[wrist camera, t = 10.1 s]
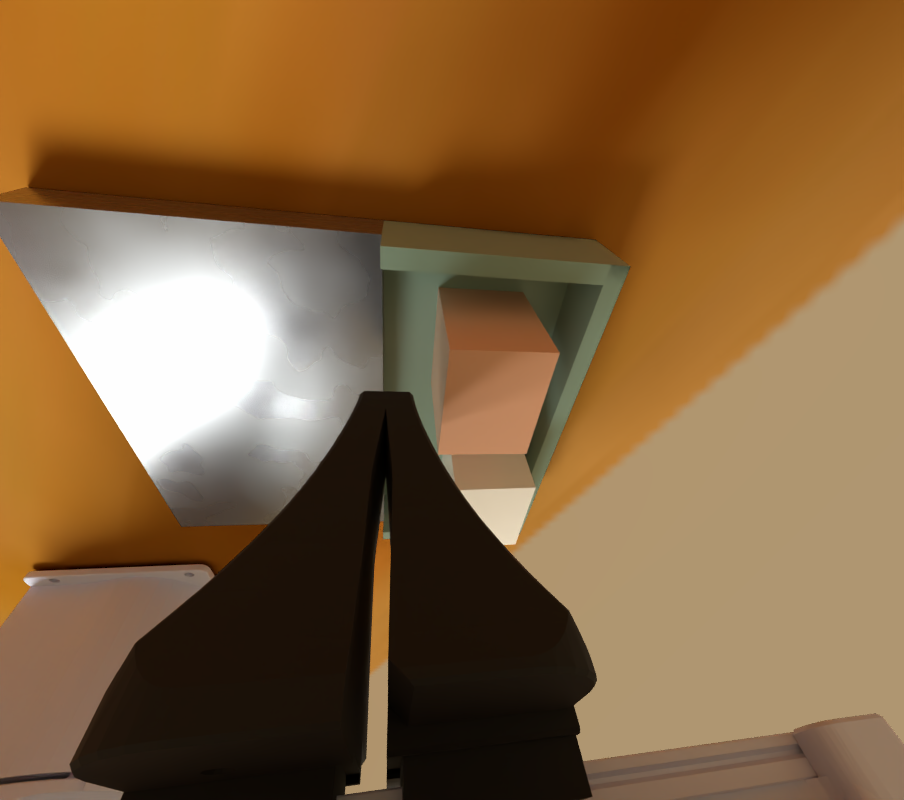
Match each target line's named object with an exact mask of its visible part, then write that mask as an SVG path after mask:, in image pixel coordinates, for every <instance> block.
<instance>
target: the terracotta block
mask: <svg viewBox="0 0 904 800" xmlns="http://www.w3.org/2000/svg"><path fill="white" fill-rule="evenodd" d="M559 354H560V352H559V351H558V349H557V347H556V346H555V344H554V343H553V341H552V339H551V338H550V336H549V334H548V333H547V331H546V329H545V328H544V326H543V324H542V323H541V321H540V319H539V318H538V316H537V314H536V313H535V311H534V310H533V308H532V306H531V305H530V303H529V301H528V300H527V298H526V296H525V295H524V293H523V292H513V291H495V290H477V289H459V288H441V287H438V298H437V311H436V323H435V336H434V349H433V361H432V374H431V388H432V398H433V408H434V418H435V429H436V439H437V449H438V455H458V454H527V451H528V448H529V444H530V441H531V438H532V435H533V432H534V429H535V426H536V423H537V420H538V417H539V414H540V411H541V408H542V405H543V402H544V399H545V396H546V393H547V390H548V387H549V384H550V381H551V378H552V375H553V372H554V369H555V366H556V363H557V360H558V357H559Z"/></svg>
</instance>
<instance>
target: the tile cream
mask: <svg viewBox="0 0 904 800" xmlns="http://www.w3.org/2000/svg"><path fill="white" fill-rule="evenodd" d="M442 463H443V465H444V466H445V468H446V470H447V471H448V473H449V474H450V476H451V478H452V479H453V481H454V482H455V484H456V485H457V487H458V488H459V490H460V491H461V493H462V494H463V495H464V497H465V498H466V500H467V501H468V502H469V504H470V505H471V506H472V508H473V509H474V510H475V512H476V513H477V514H478V516H479V517H480V518H481V519H482V521H483V522H484V523H485V524H486V525H487V526H488V528H489V529H490V530H491V531H492V532H493V533H494V535H495V536H496V537H497V538H498V539H499V540H500V542H501V543H502V544H503V545H509V544H516V541H517V538H518V535H519V533H520V530H521V527H522V524H523V522H524V519H525V516H526V513H527V510H528V508H529V505H530V502H531V499H532V497H533V494H534V491H535V488H536V487H535V484H534V481H533V478H532V475H531V472H530V469H529V466H528V463H527V460H526V457H525V454H458V455H442Z"/></svg>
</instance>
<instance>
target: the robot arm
mask: <svg viewBox="0 0 904 800" xmlns="http://www.w3.org/2000/svg"><path fill="white" fill-rule="evenodd" d="M385 479H386V486H387V501H388V515H389V530H390V545H391V570H390V612H389V652H388V727H387V789H382V790H375V791H368V792H362V793H353V794H347V795H345V786H351V785H358V784H360V776H361V765H362V764H363V762H364V761H365V759H366V750H367V749H366V748H367V724H368V697H369V673H370V649H371V626H372V604H373V582H374V564H375V554H376V545H377V538H378V531H379V524H380V516H381V509H382V502H383V494H384V487H385ZM23 580H24V582H25V583H27V584H28V585H29V586H31V588H30V589H29V590H28V591H27V593H26V594H25V595H24V597H23V598H22V599H21V601H20V602H19V603H18V605H17V606H16V607H15V609H14V610H13V611H12V613H11V614H10V615H9V617H8V618H7V619H6V621H5V622H4V623H3V625H2V626H1V627H0V800H904V744H903V742H902V741H901V740H900V738H898V736H897V735H896V733H895V732H894V731H893V729H892V728H891V727H890V726H889V724H888V723H887V722H886V720H885V719H884V718H883V717H882V716H880V715H878V714H876V713H874V714H867V715H860V716H853V717H845V718H838V719H832V720H825V721H821V722H817V723H812V724H809V725H805V726H802V727H800V728H797V729H794V732H790V733H783V734H775V735H769V736H761V737H754V738H747V739H740V740H733V741H726V742H718V743H711V744H704V745H697V746H690V747H682V748H676V749H668V750H661V751H654V752H647V753H640V754H632V755H626V756H618V757H611V758H604V759H597V760H590V761H583V760H582V756H581V752H580V749H579V745H578V741H577V738H576V735H578V734H579V733H580V726H579V722H578V719H577V715H576V712H575V708H574V705H575V704H576V703H577V702H578V701H580V700H581V699H582V698H583V697H584V696H586V695H587V694H588V693H589V692H590V691H591V690H592V689H593V687H594V686H595V684H596V681H597V678H596V673H595V670H594V666H593V663H592V660H591V657H590V655H589V652H588V650H587V647H586V645H585V643H584V641H583V638H582V636H581V634H580V632H579V630H578V628H577V626H576V624H575V622H574V620H573V618H572V616H571V614H570V612H569V610H568V609H567V608H566V607H565V606H564V605H562V604H561V603H560V602H559V601H558V600H557V599H556V598H555V597H554V596H553V595H552V594H551V593H550V592H548V591H547V590H546V589H545V588H544V587H543V586H542V585H541V584H540V583H539V582H538V581H537V580H536V579H535V578H534V577H533V576H532V575H531V574H530V573H529V572H528V571H527V570H526V569H525V568H524V567H523V566H522V565H521V564H520V563H519V562H518V561H517V559H516V558H515V557H514V556H513V555H512V554H511V553H510V552H509V551H508V550H507V549H506V547H505V546H504V545H503V544H502V543H501V542H500V540H499V539H498V538H497V537H496V536H495V535H494V533H493V532H492V531H491V530H490V529H489V528H488V526H487V525H486V524H485V523H484V522H483V521H482V519H481V518H480V517H479V516H478V514H477V513H476V512H475V510H474V509H473V508H472V506H471V505H470V504H469V502H468V501H467V500H466V498H465V497H464V495H463V494H462V493H461V491H460V490H459V488H458V487H457V485H456V484H455V482H454V481H453V479H452V478H451V476H450V474H449V473H448V471H447V470H446V468H445V466H444V465H443V463H442V461H441V459H440V458H439V456H438V454H437V452H436V450H435V449H434V447H433V445H432V443H431V441H430V439H429V437H428V435H427V433H426V430H425V428H424V426H423V424H422V421H421V419H420V416H419V414H418V411H417V408H416V405H415V401H414V397H413V395H412V394H411V393H410V392H396V391H363V392H362V393H361V394H360V396H359V399H358V401H357V403H356V405H355V408H354V410H353V412H352V413H351V415H350V417H349V419H348V421H347V423H346V424H345V426H344V428H343V429H342V431H341V433H340V434H339V436H338V437H337V439H336V441H335V442H334V444H333V445H332V447H331V448H330V450H329V451H328V453H327V454H326V456H325V457H324V458H323V460H322V461H321V463H320V464H319V465H318V467H317V468H316V470H315V471H314V472H313V474H312V475H311V476H310V477H309V479H308V480H307V481H306V483H305V484H304V485H303V486H302V487H301V489H300V490H299V491H298V492H297V493H296V495H295V496H294V497H293V498H292V499H291V500H290V502H289V503H288V504H287V505H286V506H285V507H284V508H283V509H282V510H281V512H280V513H279V514H278V515H277V516H276V517H275V518H274V519H273V520H272V521H271V522H270V523H269V524H268V526H267V527H266V528H265V529H264V530H263V531H262V532H261V533H260V534H259V535H258V536H257V537H256V538H255V539H254V540H253V541H252V542H251V543H250V544H249V545H248V546H247V547H246V548H244V549H243V550H242V551H241V552H240V553H239V554H238V555H237V556H236V557H235V558H234V559H233V560H232V561H230V562H229V563H228V564H227V565H226V566H225V567H224V568H223V569H222V570H221V571H220V572H219V573H218V574H216V575H215V576H214V574H213V572H212V571H211V569H210V568H209V567H208V566H207V565H203V564H191V565H167V566H143V567H119V568H94V569H70V570H46V571H31V572H29V573H28V574H27V575H26V576H25V577H24V579H23Z"/></svg>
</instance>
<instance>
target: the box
mask: <svg viewBox="0 0 904 800" xmlns="http://www.w3.org/2000/svg"><path fill="white" fill-rule="evenodd" d="M380 269H384V391H396V392H410V393H411V394H412V395H413V397H414V401H415V405H416V408H417V411H418V414H419V416H420V419H421V421H422V424H423V426H424V428H425V430H426V433H427V435H428V437H429V439H430V441H431V443H432V445H433V447H434V449H435V450H436V452H437V454H438V449H437V439H436V429H435V418H434V408H433V398H432V388H431V374H432V361H433V349H434V336H435V323H436V311H437V298H438V287H441V288H459V289H477V290H495V291H513V292H523V293H524V295H525V296H526V298H527V300H528V301H529V303H530V305H531V306H532V308H533V310H534V311H535V313H536V314H537V316H538V318H539V319H540V321H541V323H542V324H543V326H544V328H545V329H546V331H547V333H548V334H549V336H550V338H551V339H552V341H553V343H554V344H555V346H556V347H557V349H558V351H559V352H560V354H559V357H558V360H557V363H556V366H555V369H554V372H553V375H552V378H551V381H550V384H549V387H548V390H547V393H546V396H545V399H544V402H543V405H542V408H541V411H540V414H539V417H538V420H537V423H536V426H535V429H534V432H533V435H532V438H531V441H530V444H529V448H528V451H527V454H525V457H526V460H527V463H528V466H529V469H530V472H531V475H532V478H533V481H534V484H535V487H536V488H535V491H534V494H533V497H532V499H531V502H530V505H529V508H528V510H527V513H526V516H525V519H524V522H523V524H522V527H523V525H524V523H525V520H526V518H527V515H528V513H529V510H530V508H531V506H532V503H533V501H534V498H535V496H536V494H537V491H538V489H539V486H540V484H541V481H542V479H543V477H544V474H545V472H546V469H547V467H548V465H549V462H550V460H551V457H552V455H553V452H554V450H555V448H556V445H557V443H558V440H559V438H560V436H561V433H562V431H563V428H564V426H565V424H566V421H567V419H568V416H569V414H570V411H571V409H572V407H573V404H574V402H575V399H576V397H577V395H578V392H579V390H580V387H581V385H582V382H583V380H584V378H585V375H586V373H587V370H588V368H589V366H590V363H591V361H592V358H593V356H594V353H595V351H596V349H597V346H598V344H599V341H600V339H601V337H602V334H603V332H604V329H605V327H606V324H607V322H608V320H609V317H610V315H611V312H612V310H613V308H614V305H615V303H616V300H617V298H618V295H619V293H620V291H621V288H622V286H623V283H624V281H625V279H626V276H627V274H628V271H629V269H630V266H629V265H628V264H627V263H625V262H624V261H623V260H621V259H620V258H619V257H617V256H616V255H615V254H614V253H612V252H611V251H610V250H608V249H607V248H606V247H604V246H603V245H602V244H600V243H599V242H598V241H596V240H592V239H581V238H571V237H560V236H549V235H538V234H527V233H516V232H505V231H494V230H484V229H473V228H462V227H451V226H440V225H429V224H418V223H407V222H397V221H386V220H384V223H383V230H382V237H381V244H380ZM438 456H439V458H440V459H441V461H442V455H438ZM522 527H521V530H522ZM521 530H520V532H521ZM519 534H520V533H519ZM383 539H390V530H389V515H388V501H387V486H386V479H385V504H384V526H383Z"/></svg>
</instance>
